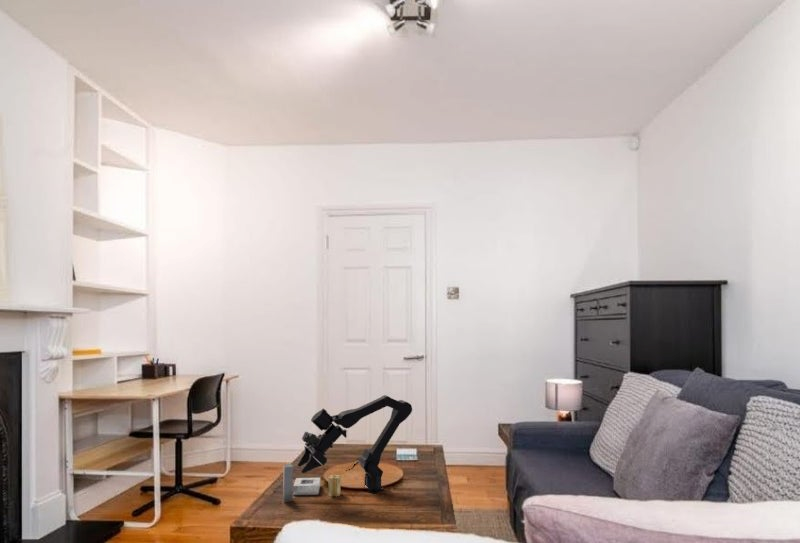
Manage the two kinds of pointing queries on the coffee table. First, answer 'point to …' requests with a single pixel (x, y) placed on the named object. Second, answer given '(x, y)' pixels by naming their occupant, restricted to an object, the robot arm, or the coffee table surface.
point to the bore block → (306, 486)
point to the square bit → (287, 483)
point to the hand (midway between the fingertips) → (300, 469)
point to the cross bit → (334, 485)
